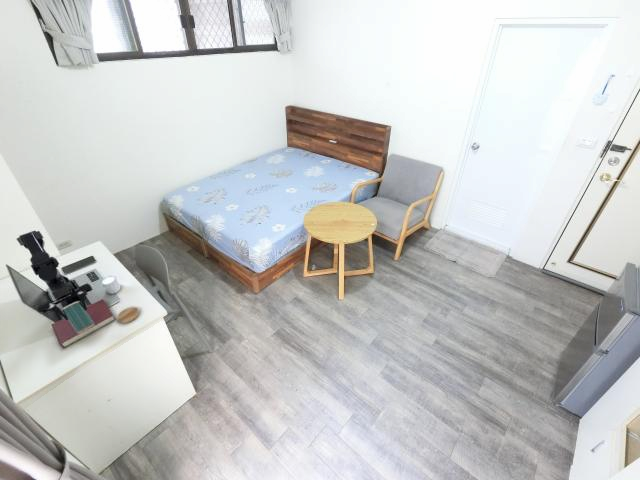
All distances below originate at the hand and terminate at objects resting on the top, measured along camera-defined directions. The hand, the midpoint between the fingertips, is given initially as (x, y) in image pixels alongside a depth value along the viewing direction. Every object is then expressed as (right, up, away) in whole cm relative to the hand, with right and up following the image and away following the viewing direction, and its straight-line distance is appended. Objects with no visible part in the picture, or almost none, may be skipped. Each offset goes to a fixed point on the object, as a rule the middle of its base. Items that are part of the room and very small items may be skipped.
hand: (77, 315), depth 128 cm
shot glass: (-4, +6, +30) cm, 30 cm away
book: (-6, -7, +12) cm, 15 cm away
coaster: (+12, -4, +16) cm, 20 cm away
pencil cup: (+1, -6, +4) cm, 7 cm away
